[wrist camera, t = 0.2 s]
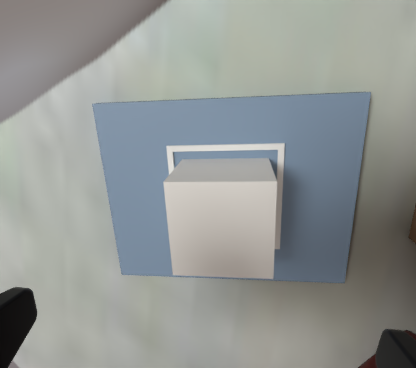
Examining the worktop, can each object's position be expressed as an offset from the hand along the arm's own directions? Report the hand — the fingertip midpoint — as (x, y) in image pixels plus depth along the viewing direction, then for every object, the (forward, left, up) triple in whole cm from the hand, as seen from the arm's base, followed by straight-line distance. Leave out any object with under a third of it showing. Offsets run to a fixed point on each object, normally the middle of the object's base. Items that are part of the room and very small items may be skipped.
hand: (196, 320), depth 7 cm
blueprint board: (-2, 0, -14) cm, 14 cm away
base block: (-2, 0, -13) cm, 13 cm away
